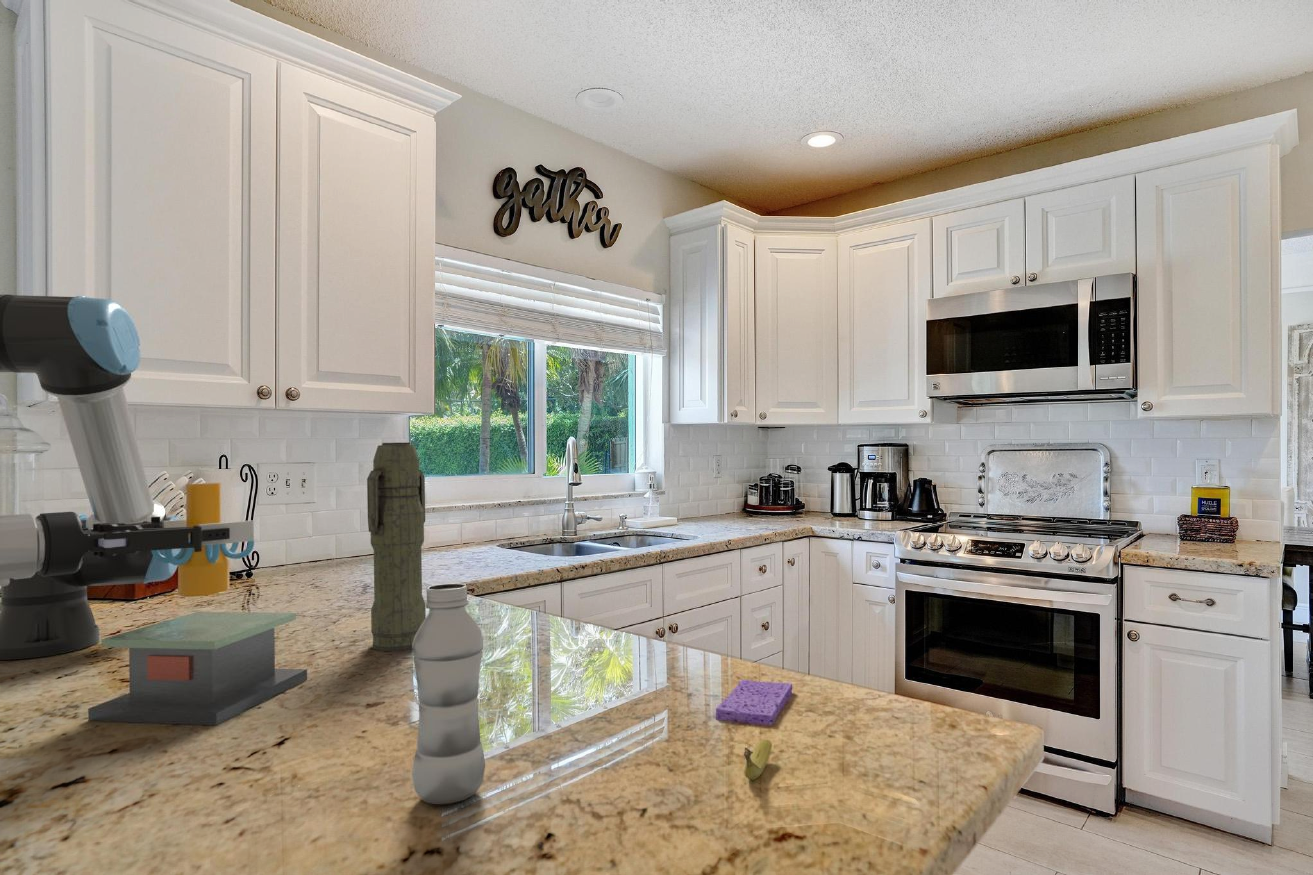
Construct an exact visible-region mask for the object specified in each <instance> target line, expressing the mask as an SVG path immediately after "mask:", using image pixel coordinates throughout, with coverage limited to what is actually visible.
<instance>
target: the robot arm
mask: <svg viewBox="0 0 1313 875" xmlns="http://www.w3.org/2000/svg"><path fill="white" fill-rule="evenodd" d="M140 345H141V343H140V337H139V335H138V330H137V327H136V326H135V323H134V321H133V319H132V317H131V316H130V314H129V313H128V312H127V311H126V309H125V308H124V307H123V306H121V305H120V304H118V302H115V301H113V300H110V299H108V298H96V297H95V298H94V297H89V296H85V295H77V296H60V295H59V296H57V295H51V296H50V295H49V296H48V295H23V294H22V295H20V294H15V295H14V294H4V293H3V294H0V373H18V374H19V373H22V374H23V373H26V374H36V376H37V378H38V381H39V385H40V387H41V389H42V391H44V392H45V393H47V394H49V395H52V396H54V397H56V398H57V401H58V404H59V406H60V407H59V408H60V410H61V413H62V417H63V421H64V423H65V426H66V427H65V428H66V430H67V433H68V436H69V439H70V440H69V441H70V443H71V446H72V449H73V450H72V451H73V452H74V456H75V459H76V462H77V465H78V466H77V467H78V468H79V472H80V476H81V478H82V482H83V485H84V488H85V492H86V495H87V498H88V501H89V504H90V508H91V511H92V513H91V514H90V515H89V516H87V515H86V513H84V512H81V513H80V512H79V513H77V512H75V511H62V512H61V511H60V512H47V513H46V512H44V513H40V514H39V515H37V516H36V517H35V516H34V515H32V514H30V513H21V514H20V513H19V514H2V515H1V514H0V594H1V595H0V596H1V600H0V601H1V603H0V604H1V606H0V607H1V608H0V609H1V610H0V661H7V660H9V661H10V660H11V661H12V660H24V659H34V658H42V657H49V656H53V655H54V656H55V655H60V654H65V653H66V654H67V653H71V652H73V651H78V650H82V649H85V648H89V647H91V646H94V645H95V644H97V643H99V642H100V627H99V625H98V624H96V621H95V617H94V614H93V611H92V609H91V607H90V604H89V601H88V593H87V592H88V587H93V586H96V587H97V586H112V585H128V584H129V585H130V584H131V585H132V584H144V585H145V584H148V583H152V582H153V583H154V582H164V581H167V580H169V579H170V578H171V577H172V576H173V575H174V574H175V572H176V571H177V570H178V565H173V564H171V563H164V562H161V561H159V560H157V559H156V558H155V557H154V556H153V554H152V551H151V550H158V551H159V553H160V554H161V555H163V556H165V550H166V549H172V555H173V557H174V556H176V555H177V554H178V553H179V552H180V550H181V548H195V552H201V551H202V546H206V545H216V544H226V545H227V544H232V543H236V542H239V543H245V542H248V541H254V542H255V539H254V533H255V532H254V531H255V530H254V520H244V521H243V520H240V521H229V522H221V523H214V524H202V525H196V526H193V527H186V519H185V518H184V519H181V518H179V517H175V516H170V517H168V516H167V513H166V508H165V506H163V504H162V503H161V502H160V501H157V500H155V499H152V496H151V495H152V494H151V491H150V488H149V484H148V483H149V482H148V480H147V475H146V472H145V467H144V465H143V460H142V459H143V458H142V457H141V452H140V448H139V445H138V440H137V436H136V433H135V432H136V431H135V428H134V425H133V421H132V417H131V413H130V409H129V406H128V402H127V398H126V392H125V389H124V386H126V385H127V384H128V383H130V381H131V378H132V373H134V372H135V371H136V370H138V369H137V368H138V367H139V364H140V361H141V350H140V348H139V347H140ZM189 533H190V542H189Z"/></svg>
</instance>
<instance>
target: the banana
mask: <svg viewBox="0 0 1313 875" xmlns="http://www.w3.org/2000/svg"><path fill="white" fill-rule="evenodd" d="M772 746H773V745H772V742H771V740H769V739H761V740H760V741H759V742H757V744H756V746H755V748H754V749H753V751H751V750H750V748H748V747H745V748H744V752H743V756H744V757H745V761H746V762H745V764H744V765H745V766H744V776H745V777H746V779H748V780H750V781H751V780H752V781H754V780H756V779H757V778H759V777H760V776H761V775H762V773H763V771H764V769H765V768H766V765H767V762H768V760H769V756H770V754H771V750H772Z"/></svg>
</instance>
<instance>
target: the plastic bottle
mask: <svg viewBox="0 0 1313 875" xmlns="http://www.w3.org/2000/svg"><path fill="white" fill-rule="evenodd" d="M425 591H426V601H425V609H428V614H427V615H426V618H425V620H424V621H423V623H422V624H421V626H420V628H419V629H418V631H417V633H416V635H415V637H414V641H413V644H412V656H413V663H414V670H415V671H414V672H415V676H416V683H417V698H418V702H419V704H418V715H419V716H418V728H417V740H416V750H415V752H414V753H415V754H414V759H413V762H412V763H413V764H412V772H411V776H412V781H413V788H414V792H415V793H416V794H417V796H418V797H419V798H420V799H421V800H422V801H423V802H425V803H428V804H433V805H447V804H448V805H449V804H454V803H459V802H462V801H464V800H467V799H468V798H471V797H472V796H473V795H475V794H476V793H477V792H478V790H479V789H480V787H481V785H482V784H483V781H484V775H485V770H486V761H485V754H484V749H483V744H482V741H481V732H480V731H481V730H480V720H479V709H478V708H479V698H478V696H479V686H480V683H479V682H480V673H481V666H482V665H481V664H482V657H483V650H484V636H483V632H482V630H481V628H480V626H479V625H478V623H477V622H476V621H475V620H474V618H473V617H472V616H471V615H470V613H468V611H467V608H466V606H468V605H469V598H468V587H467V584H466V583H454V582H453V583H452V582H450V583H439V584H433V585H430V586H427V587H426V590H425Z"/></svg>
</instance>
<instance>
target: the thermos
mask: <svg viewBox="0 0 1313 875" xmlns="http://www.w3.org/2000/svg"><path fill="white" fill-rule="evenodd" d="M372 461H373V465H372V466H373V469H372V470H371V471H370V472H369V474H368V476H367V478H366V483H367V484H366V485H367V487H366V488H367V490H366V491H367V526H368V533H369V534H370V545H371V548H372V549H373V581H374V582H373V586H374V588H373V592H374V594H373V595H374V599H373V603H372V607H371V610H370V618H371V619H370V620H371V622H370V623H371V625H370V626H371V631H370V632H371V633H372V649H373V650H376V651H380V652H397V651H405V650H410V649H411V650H413V648H412V644H413V641H414V637H415V635H416V633H417V631H418V629H419V628H420V626H421V624H422V623H423V621H424V620H425V618H426V617H427V614H426V609H427V608H426V601H425V599H424V596H423V579H422V578H423V575H422V574H423V572H422V570H423V568H422V567H423V566H422V565H423V564H422V547H423V545H424V542H425V528H424V527H425V526H424V525H425V522H426V486H425V484H426V483H425V482H426V481H425V480H426V478H425V475H424V473H423V470H421V469H420V458H419V455H418V451H417V449H416V445H415V444H411V442H382V444H381V445H377V448H376V451H375V454H374V457H373V460H372Z"/></svg>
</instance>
